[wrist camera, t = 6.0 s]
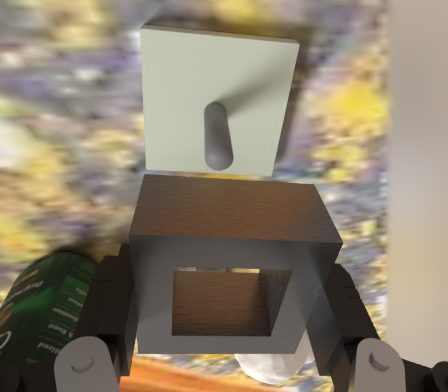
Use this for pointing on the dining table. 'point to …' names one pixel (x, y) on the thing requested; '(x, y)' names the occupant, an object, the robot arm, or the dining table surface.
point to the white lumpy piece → (277, 363)
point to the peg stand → (214, 99)
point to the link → (228, 264)
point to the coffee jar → (44, 308)
